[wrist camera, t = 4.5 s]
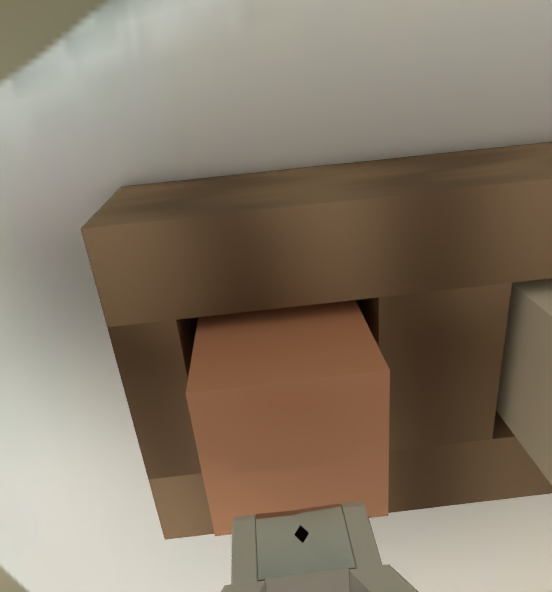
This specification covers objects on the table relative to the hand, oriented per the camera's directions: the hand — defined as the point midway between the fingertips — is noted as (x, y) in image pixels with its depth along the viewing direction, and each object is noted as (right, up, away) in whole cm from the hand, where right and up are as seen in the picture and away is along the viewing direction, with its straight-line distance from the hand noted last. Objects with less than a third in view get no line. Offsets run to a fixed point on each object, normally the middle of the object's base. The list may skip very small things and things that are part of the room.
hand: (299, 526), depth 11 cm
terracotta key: (0, +3, +6) cm, 7 cm away
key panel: (+4, +5, +9) cm, 11 cm away
